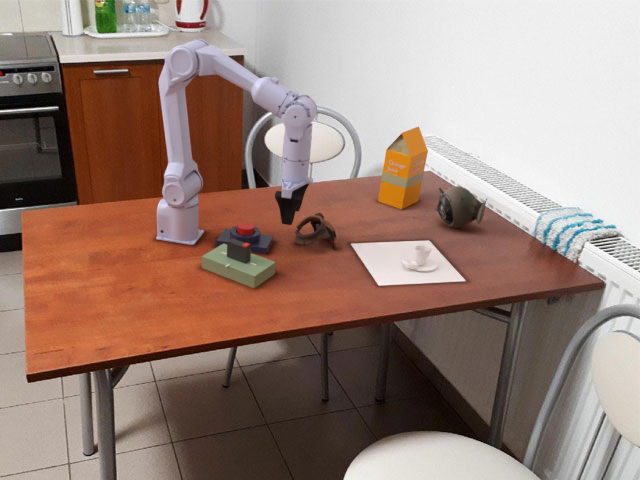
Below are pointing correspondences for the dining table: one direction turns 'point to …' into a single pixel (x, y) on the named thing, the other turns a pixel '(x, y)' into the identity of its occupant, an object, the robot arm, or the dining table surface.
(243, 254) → the grey box red tab
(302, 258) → the dining table surface
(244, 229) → the button
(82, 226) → the dining table surface
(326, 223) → the dark brown ringed frame
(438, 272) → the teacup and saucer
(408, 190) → the orange juice
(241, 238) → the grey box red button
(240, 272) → the green toggle switch panel
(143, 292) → the dining table surface
